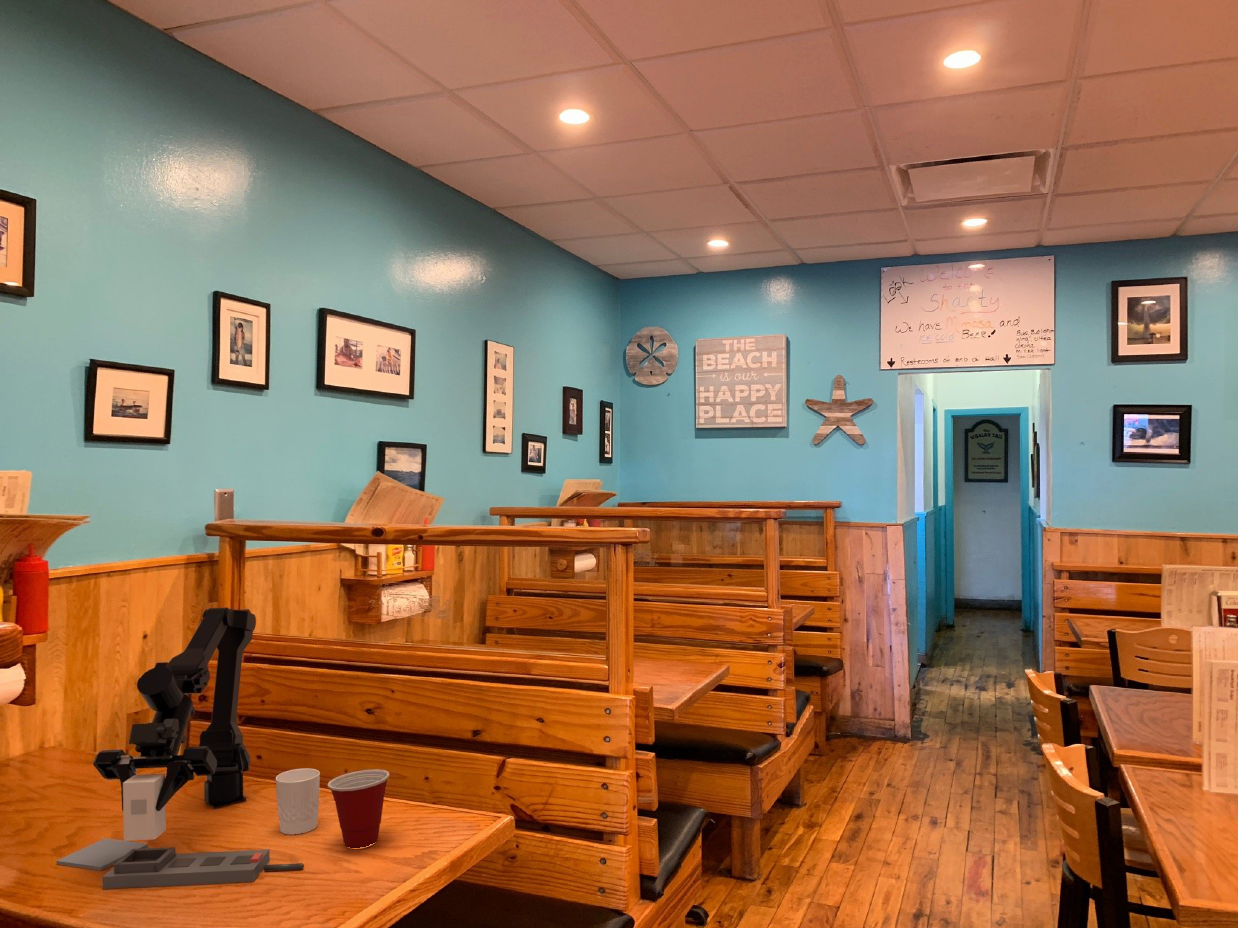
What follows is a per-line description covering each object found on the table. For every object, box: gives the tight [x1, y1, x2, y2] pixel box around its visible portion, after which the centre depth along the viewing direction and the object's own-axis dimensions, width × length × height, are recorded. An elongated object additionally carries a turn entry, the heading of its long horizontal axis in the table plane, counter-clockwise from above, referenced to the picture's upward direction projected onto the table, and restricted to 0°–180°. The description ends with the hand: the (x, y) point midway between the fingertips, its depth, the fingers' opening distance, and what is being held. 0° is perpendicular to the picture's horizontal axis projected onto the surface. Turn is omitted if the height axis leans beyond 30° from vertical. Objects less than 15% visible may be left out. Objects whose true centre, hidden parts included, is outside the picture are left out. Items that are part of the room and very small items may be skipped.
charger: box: [122, 773, 167, 841], centre depth 150 cm, size 4×5×10 cm
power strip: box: [101, 846, 305, 890], centre depth 150 cm, size 31×8×4 cm, turn 93°
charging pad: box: [55, 837, 149, 871], centre depth 159 cm, size 10×10×1 cm
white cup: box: [275, 767, 321, 836], centre depth 169 cm, size 8×8×10 cm
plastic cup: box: [327, 768, 390, 848], centre depth 162 cm, size 11×11×12 cm
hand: (140, 810), depth 148 cm, fingers closed on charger, 5 cm apart
